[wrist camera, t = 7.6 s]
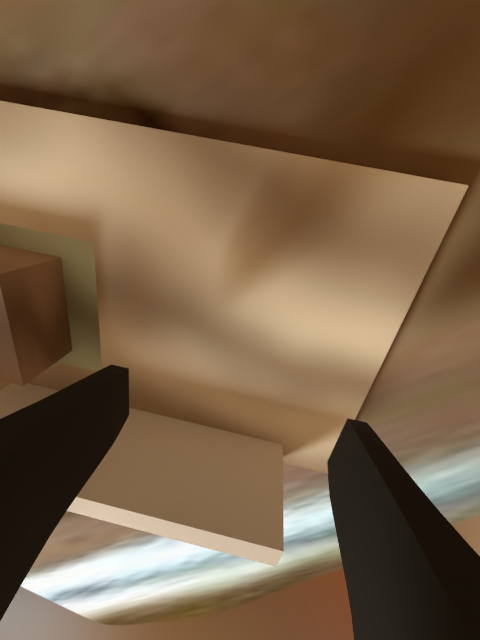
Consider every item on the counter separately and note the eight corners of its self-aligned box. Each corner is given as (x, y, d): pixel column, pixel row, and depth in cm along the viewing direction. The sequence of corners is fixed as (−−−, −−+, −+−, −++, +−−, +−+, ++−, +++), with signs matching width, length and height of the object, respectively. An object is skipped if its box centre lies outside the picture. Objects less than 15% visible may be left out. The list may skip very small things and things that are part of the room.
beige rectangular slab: (277, 458, 15) (276, 566, 11) (19, 395, 16) (-81, 471, 12) (282, 444, 15) (283, 551, 10) (15, 380, 16) (-91, 453, 11)
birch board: (325, 458, 16) (328, 473, 15) (4, 380, 17) (-11, 391, 16) (451, 186, 10) (469, 185, 9) (-72, 91, 11) (-105, 81, 10)
